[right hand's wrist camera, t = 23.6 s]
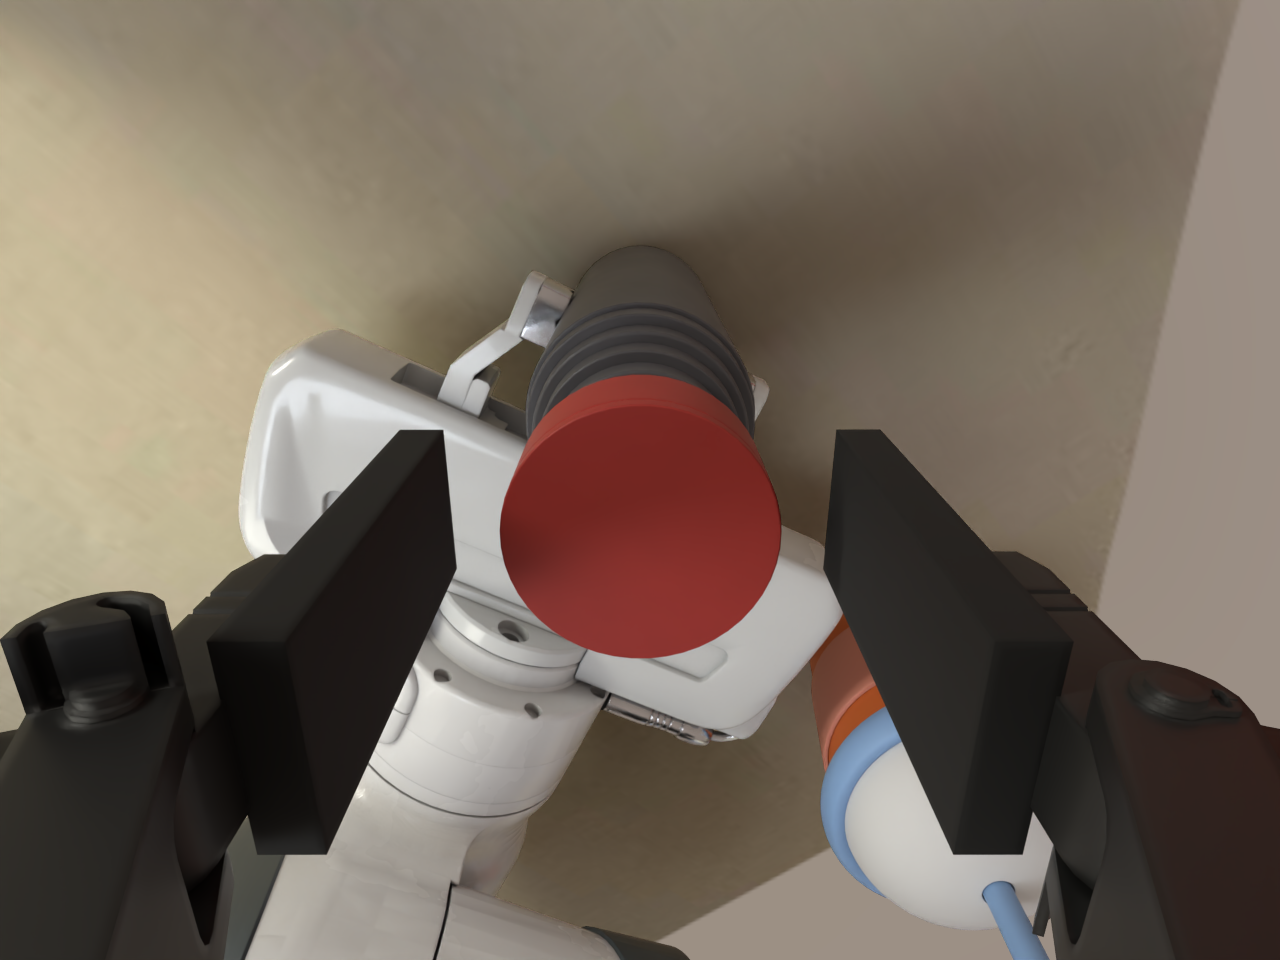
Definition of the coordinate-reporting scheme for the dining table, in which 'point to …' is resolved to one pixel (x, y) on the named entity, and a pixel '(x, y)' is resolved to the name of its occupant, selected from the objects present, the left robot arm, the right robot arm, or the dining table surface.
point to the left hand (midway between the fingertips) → (651, 328)
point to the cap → (640, 518)
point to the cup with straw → (908, 815)
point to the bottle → (640, 335)
